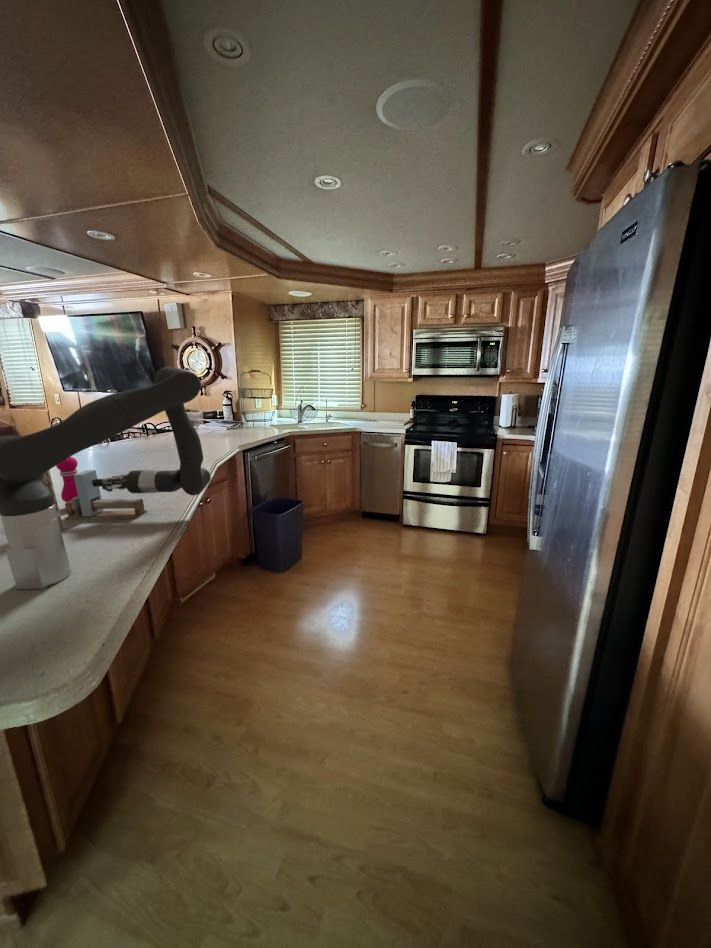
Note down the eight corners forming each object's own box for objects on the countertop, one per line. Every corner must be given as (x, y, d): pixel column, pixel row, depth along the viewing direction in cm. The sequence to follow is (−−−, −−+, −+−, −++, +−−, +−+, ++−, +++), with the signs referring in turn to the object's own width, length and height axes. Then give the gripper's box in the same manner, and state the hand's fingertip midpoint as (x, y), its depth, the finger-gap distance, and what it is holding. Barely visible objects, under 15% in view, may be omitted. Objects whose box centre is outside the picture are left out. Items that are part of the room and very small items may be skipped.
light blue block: (91, 516, 123) (82, 474, 119) (82, 516, 123) (73, 475, 119) (103, 509, 128) (95, 470, 125) (95, 509, 128) (86, 470, 125)
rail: (137, 518, 123) (133, 497, 121) (65, 519, 123) (60, 499, 121) (147, 511, 128) (144, 492, 127) (78, 512, 129) (74, 493, 127)
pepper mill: (67, 505, 136) (54, 451, 131) (90, 502, 139) (79, 449, 134) (61, 511, 130) (48, 455, 125) (86, 508, 133) (74, 453, 128)
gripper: (155, 465, 128) (104, 466, 128) (132, 476, 115) (76, 477, 115) (158, 486, 130) (109, 487, 130) (136, 499, 117) (81, 500, 117)
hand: (93, 482), depth 123 cm, fingers closed
